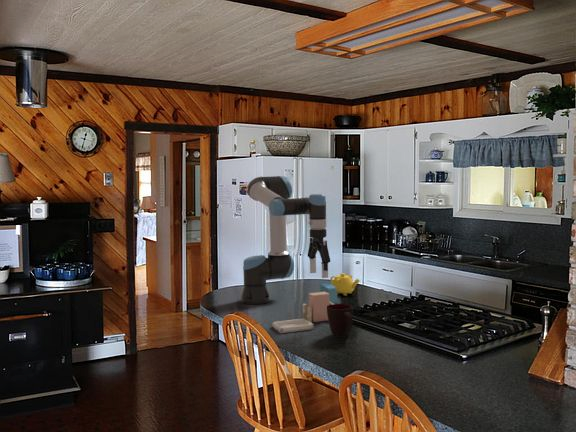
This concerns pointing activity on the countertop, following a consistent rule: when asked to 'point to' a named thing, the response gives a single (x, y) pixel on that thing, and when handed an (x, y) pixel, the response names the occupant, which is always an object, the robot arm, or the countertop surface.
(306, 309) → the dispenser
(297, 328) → the tray
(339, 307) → the cup
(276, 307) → the countertop surface
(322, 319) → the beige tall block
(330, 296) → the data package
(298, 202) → the robot arm
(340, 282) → the teapot
